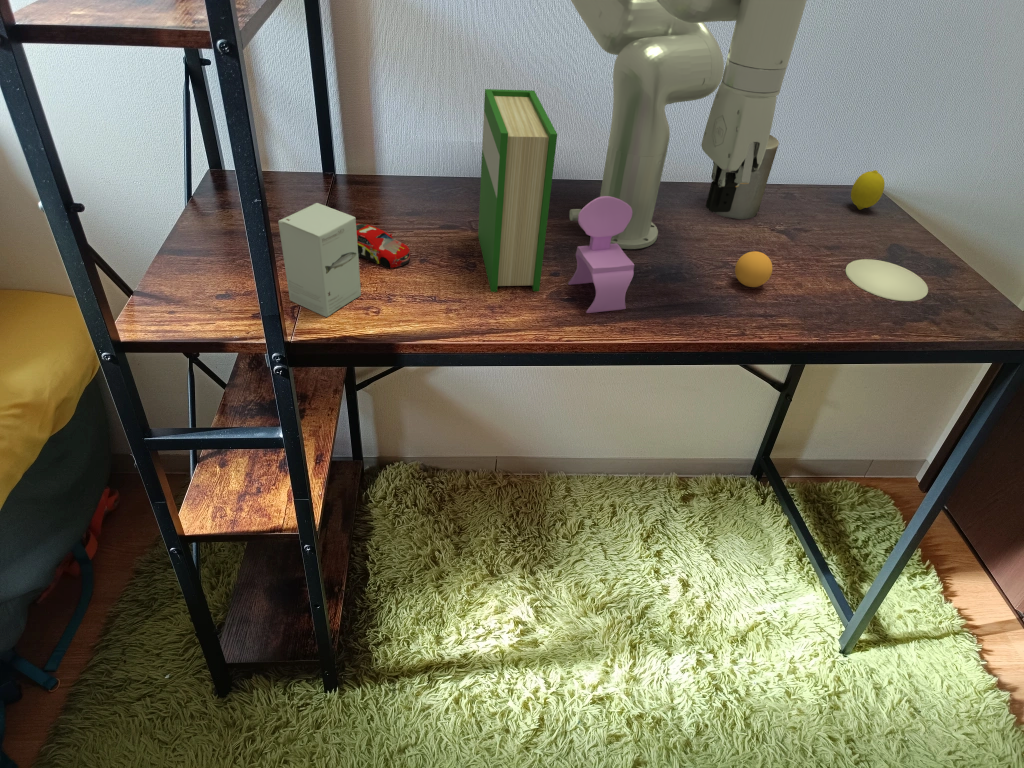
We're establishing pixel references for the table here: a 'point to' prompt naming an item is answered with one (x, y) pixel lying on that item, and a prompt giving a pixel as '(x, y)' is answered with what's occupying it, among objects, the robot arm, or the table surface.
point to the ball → (753, 269)
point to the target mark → (886, 280)
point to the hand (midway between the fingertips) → (717, 209)
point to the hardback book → (515, 186)
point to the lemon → (867, 189)
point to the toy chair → (604, 253)
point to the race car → (381, 247)
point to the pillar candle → (753, 187)
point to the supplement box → (321, 258)
